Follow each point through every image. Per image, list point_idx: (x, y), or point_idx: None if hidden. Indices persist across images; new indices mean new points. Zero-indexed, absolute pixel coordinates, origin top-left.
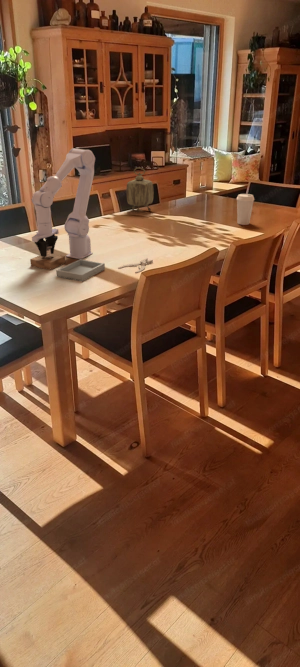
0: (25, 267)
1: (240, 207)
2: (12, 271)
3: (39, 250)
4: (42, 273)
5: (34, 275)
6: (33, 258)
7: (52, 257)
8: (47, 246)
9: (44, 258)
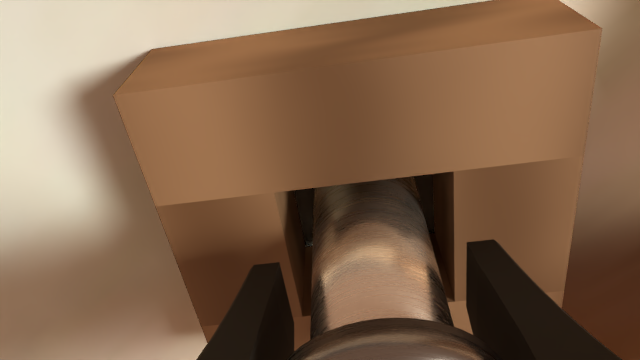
0: (57, 20)
1: None
2: None
3: (211, 349)
4: (111, 325)
5: (9, 309)
6: (186, 108)
7: (451, 258)
8: None
9: (314, 239)
